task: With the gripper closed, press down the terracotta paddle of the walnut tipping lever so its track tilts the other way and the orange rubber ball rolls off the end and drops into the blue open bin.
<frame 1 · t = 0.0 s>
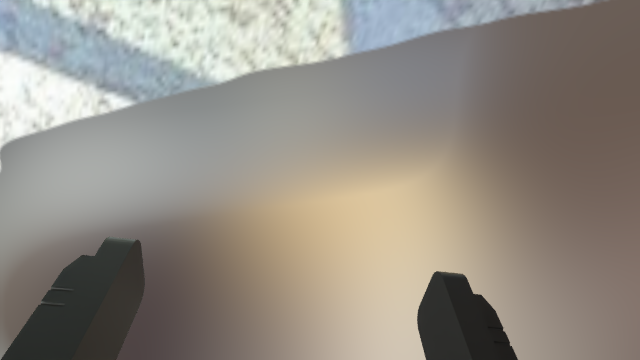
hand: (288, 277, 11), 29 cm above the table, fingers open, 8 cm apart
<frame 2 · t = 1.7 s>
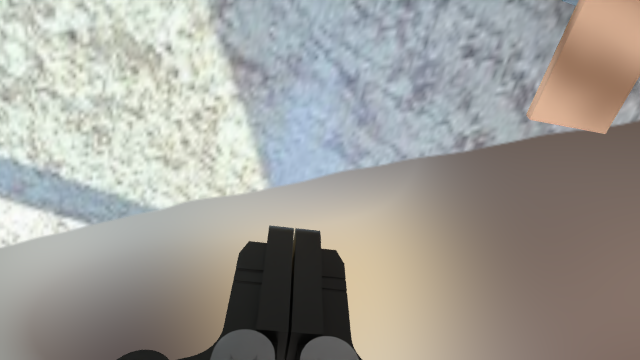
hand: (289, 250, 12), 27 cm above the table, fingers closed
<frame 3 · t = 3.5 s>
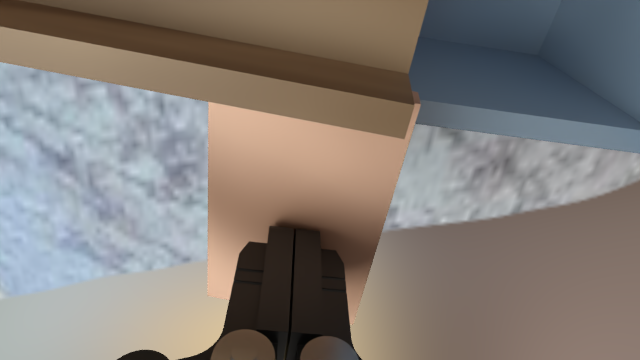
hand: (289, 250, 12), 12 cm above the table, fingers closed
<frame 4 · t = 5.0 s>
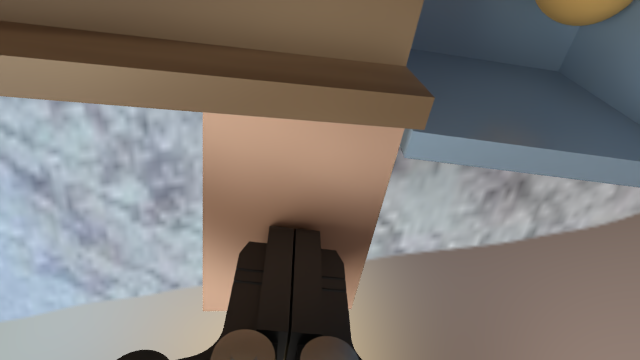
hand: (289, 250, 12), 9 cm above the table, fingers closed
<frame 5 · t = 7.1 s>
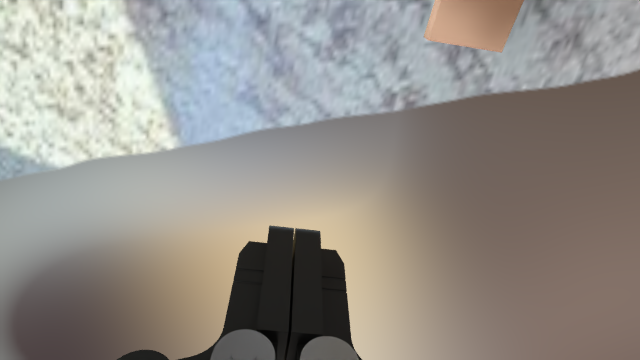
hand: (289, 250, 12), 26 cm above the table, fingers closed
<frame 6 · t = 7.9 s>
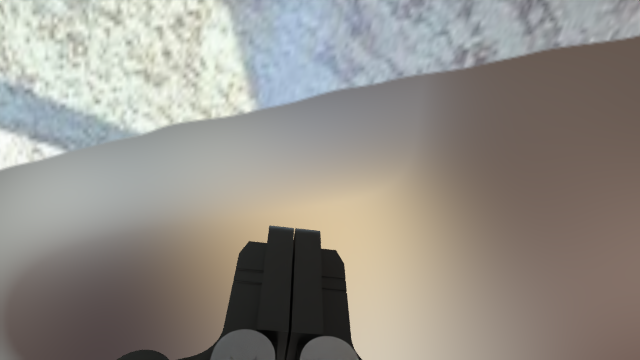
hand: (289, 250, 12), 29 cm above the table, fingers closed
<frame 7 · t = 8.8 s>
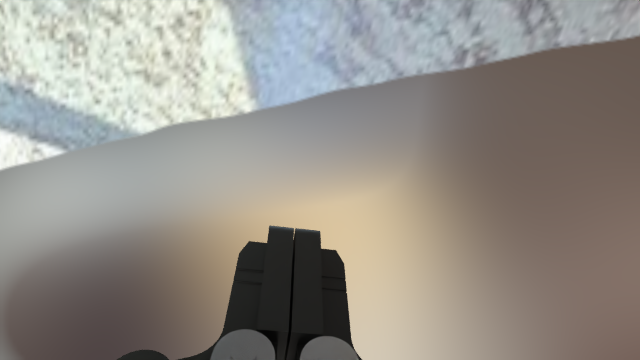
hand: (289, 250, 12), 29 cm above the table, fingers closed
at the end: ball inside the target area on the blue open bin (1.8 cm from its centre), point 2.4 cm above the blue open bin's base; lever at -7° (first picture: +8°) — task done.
